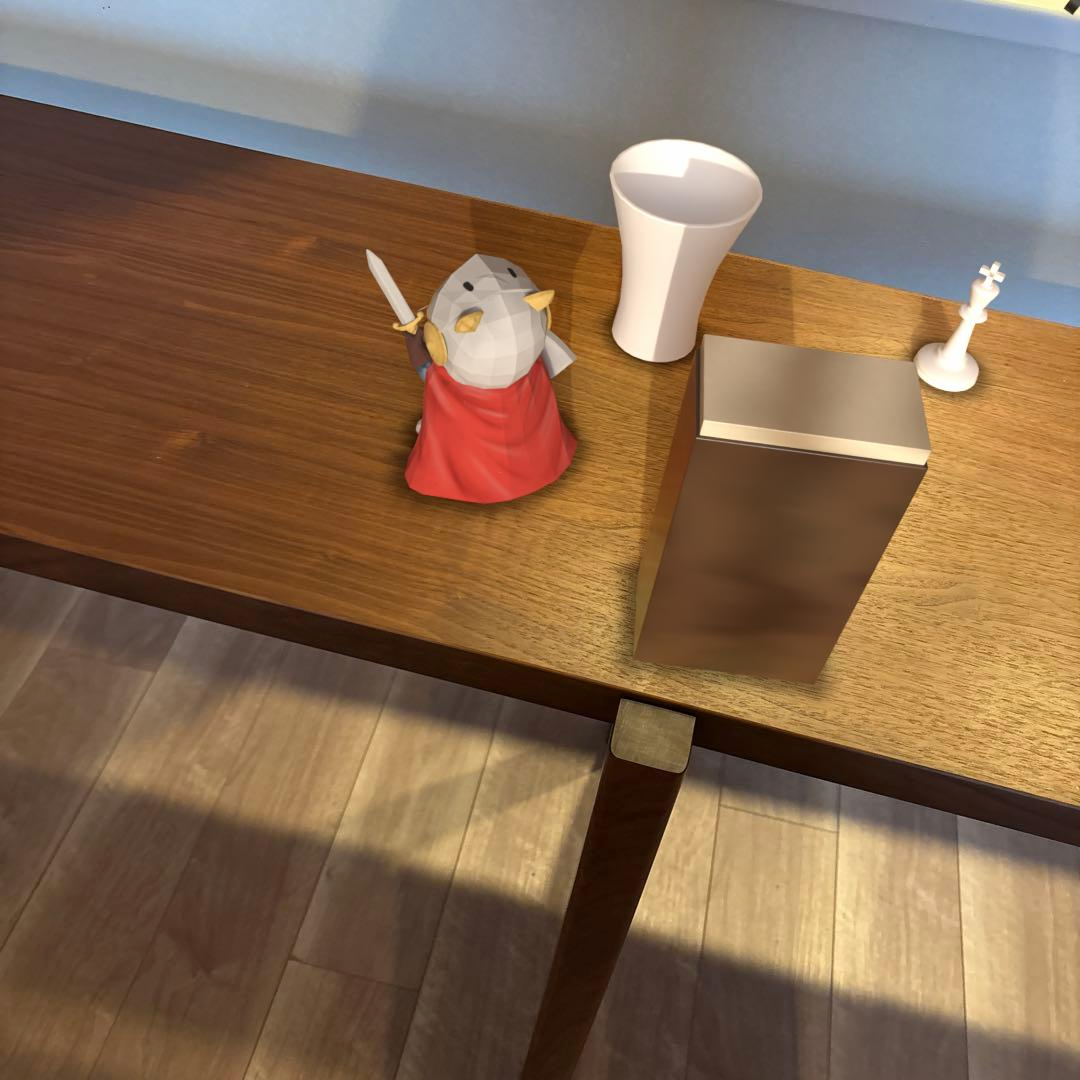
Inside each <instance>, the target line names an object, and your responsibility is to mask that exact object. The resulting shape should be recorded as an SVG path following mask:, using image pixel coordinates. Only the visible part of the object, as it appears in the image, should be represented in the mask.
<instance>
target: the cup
mask: <svg viewBox="0 0 1080 1080" xmlns="http://www.w3.org/2000/svg"><path fill="white" fill-rule="evenodd" d="M609 180H610V185H611V190H612V196H613V201H614V206H615V207H614V208H615V212H616V218H617V224H618V231H619V236H620V243H621V264H622V265H621V267H622V269H621V271H622V278H621V286H620V287H621V288H620V295H619V296H620V297H619V301H618V305H617V308H616V312H615V315H614V318H613V322H612V326H611V333H612V337H613V340H614V341H615V342H616V344H617V345H618V347H620V348H621V350H623V351H624V352H626V353H627V354H629V355H630V356H632V357H635V358H637V359H640V360H643V361H647V362H652V363H669V362H674V361H678V360H679V359H682V358H684V357H686V356H687V355H689V354H690V353H691V352H692V351H693V349H694V348H695V345H696V341H697V340H696V339H697V331H698V325H699V324H698V323H699V317H700V314H701V310H702V308H703V306H704V302H705V300H706V299H705V298H706V296H707V293H708V290H709V288H710V286H711V283H712V282H713V279H714V277H715V275H716V274H717V271H718V269H719V267H720V265H721V263H722V262H723V261H724V259H725V258H726V256H727V255H728V253H729V252H730V250H731V248H732V247H733V246H734V244H735V243H736V241H737V239H738V238H739V236H740V235H741V233H742V232H743V231H744V229H745V227H746V226H747V225H748V223H749V222H750V221H751V220H752V218H753V216H754V214H755V213H756V212H757V211H758V209H759V208H760V205H761V204H762V201H763V192H764V190H763V186H762V184H761V182H760V178H759V176H758V175H757V173H756V172H755V171H754V170H753V169H752V168H751V167H750V165H748V164H747V163H746V162H745V161H743V160H742V159H740V158H739V157H738V156H736V155H734V154H732V153H731V152H729V151H727V150H724V149H722V148H720V147H717V146H714V145H711V144H708V143H706V142H701V141H697V140H696V141H695V140H689V139H684V138H660V139H652V140H645V141H643V142H640V143H639V142H638V143H636V144H633V145H631V146H630V147H628V148H626V149H624V150H623V151H622V152H620V153H619V154H618V155H617V156H616V158H615V159H614V160H613V161H612V163H611V167H610V170H609Z"/></svg>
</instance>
